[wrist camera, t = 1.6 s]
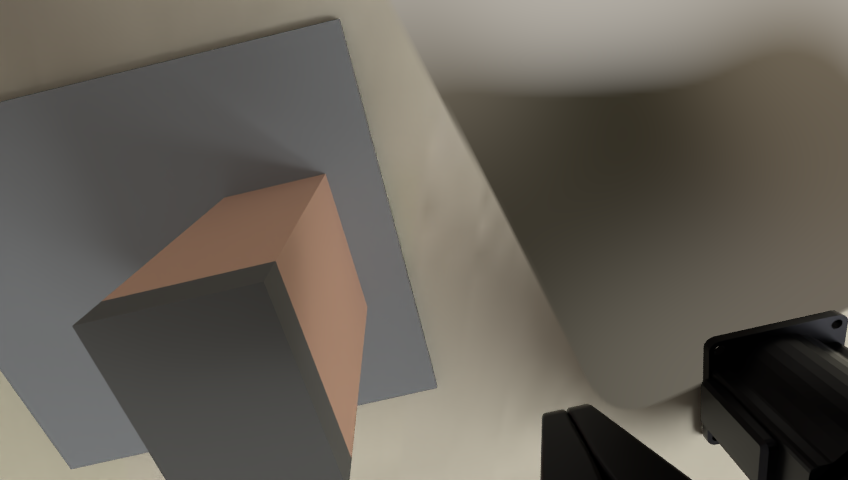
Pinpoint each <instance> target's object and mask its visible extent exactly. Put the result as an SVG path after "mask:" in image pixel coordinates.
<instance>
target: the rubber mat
mask: <svg viewBox="0 0 848 480" xmlns="http://www.w3.org/2000/svg"><path fill="white" fill-rule="evenodd" d="M322 174H326V176H327V180H328V183H329V186H330V189H331V192H332V196H333V199H334V202H335V205H336V208H337V212H338V215H339V218H340V221H341V224H342V228H343V231H344V234H345V237H346V240H347V243H348V247H349V250H350V253H351V256H352V259H353V263H354V266H355V269H356V272H357V275H358V279H359V282H360V285H361V288H362V291H363V295H364V298H365V301H366V304H367V316H366V326H365V335H364V345H363V354H362V364H361V374H360V383H359V393H358V402H357V406H358V405H362V404H367V403H371V402H376V401H380V400H385V399H389V398H394V397H398V396H403V395H407V394H412V393H416V392H421V391H425V390H430V389H434V388H437V383H436V379H435V375H434V371H433V368H432V364H431V360H430V356H429V353H428V349H427V345H426V341H425V338H424V334H423V330H422V326H421V323H420V319H419V315H418V311H417V307H416V304H415V300H414V296H413V292H412V289H411V285H410V281H409V277H408V274H407V270H406V266H405V262H404V259H403V255H402V251H401V247H400V244H399V240H398V236H397V232H396V229H395V225H394V221H393V217H392V213H391V210H390V206H389V202H388V198H387V195H386V191H385V187H384V183H383V180H382V176H381V172H380V168H379V165H378V161H377V157H376V153H375V150H374V146H373V142H372V138H371V135H370V131H369V127H368V123H367V119H366V116H365V112H364V108H363V104H362V101H361V97H360V93H359V89H358V86H357V82H356V78H355V74H354V71H353V67H352V63H351V59H350V56H349V52H348V48H347V44H346V41H345V37H344V33H343V29H342V25H341V22H340V19H336V20H332V21H328V22H324V23H320V24H316V25H312V26H307V27H303V28H299V29H295V30H291V31H287V32H283V33H279V34H275V35H271V36H267V37H263V38H259V39H255V40H250V41H246V42H242V43H238V44H234V45H230V46H226V47H222V48H218V49H214V50H210V51H206V52H202V53H198V54H194V55H189V56H185V57H181V58H177V59H173V60H169V61H165V62H161V63H157V64H153V65H149V66H145V67H141V68H137V69H133V70H128V71H124V72H120V73H116V74H112V75H108V76H104V77H100V78H96V79H92V80H88V81H84V82H80V83H76V84H72V85H67V86H63V87H59V88H55V89H51V90H47V91H43V92H39V93H35V94H31V95H27V96H23V97H19V98H15V99H10V100H6V101H2V102H0V370H1V372H2V373H3V374H4V376H5V377H6V379H7V380H8V381H9V383H10V384H11V386H12V387H13V389H14V390H15V391H16V393H17V394H18V396H19V397H20V398H21V400H22V401H23V403H24V404H25V405H26V407H27V408H28V410H29V411H30V412H31V414H32V415H33V417H34V418H35V419H36V421H37V422H38V424H39V425H40V426H41V428H42V429H43V431H44V432H45V434H46V435H47V436H48V438H49V439H50V441H51V442H52V443H53V445H54V446H55V448H56V449H57V450H58V452H59V453H60V455H61V456H62V457H63V459H64V460H65V462H66V463H67V464H68V466H69V467H70V469H75V468H79V467H84V466H88V465H93V464H97V463H102V462H106V461H111V460H115V459H120V458H124V457H129V456H133V455H138V454H142V453H146V452H149V451H148V450H147V448H146V447H145V445H144V443H143V442H142V440H141V438H140V437H139V435H138V433H137V432H136V430H135V429H134V427H133V425H132V424H131V422H130V420H129V419H128V417H127V415H126V414H125V412H124V411H123V409H122V407H121V406H120V404H119V402H118V401H117V399H116V397H115V396H114V394H113V392H112V391H111V389H110V388H109V386H108V384H107V383H106V381H105V379H104V378H103V376H102V374H101V373H100V371H99V370H98V368H97V366H96V365H95V363H94V361H93V360H92V358H91V356H90V355H89V353H88V352H87V350H86V348H85V347H84V345H83V343H82V342H81V340H80V338H79V337H78V335H77V333H76V332H75V330H74V329H73V327H72V326H73V325H74V324H75V323H76V322H77V321H79V320H80V319H81V318H82V317H83V316H84V315H86V314H87V313H88V312H89V311H90V310H92V309H93V308H94V307H95V306H96V305H98V304H99V303H100V302H101V301H102V300H103V299H105V298H106V297H107V296H108V295H109V294H111V293H112V292H113V291H114V290H115V289H116V288H118V287H119V286H120V285H121V284H122V283H124V282H125V281H126V280H127V279H128V278H130V277H131V276H132V275H133V274H134V273H135V272H137V271H138V270H139V269H140V268H141V267H143V266H144V265H145V264H146V263H147V262H149V261H150V260H151V259H152V258H153V257H154V256H156V255H157V254H158V253H159V252H160V251H162V250H163V249H164V248H165V247H166V246H167V245H169V244H170V243H171V242H172V241H173V240H175V239H176V238H177V237H178V236H179V235H181V234H182V233H183V232H184V231H185V230H186V229H188V228H189V227H190V226H191V225H192V224H194V223H195V222H196V221H197V220H198V219H200V218H201V217H202V216H203V215H204V214H205V213H207V212H208V211H209V210H210V209H211V208H213V207H214V206H215V205H216V204H217V203H219V202H220V201H221V200H222V199H223V198H225V197H229V196H233V195H237V194H242V193H246V192H250V191H254V190H259V189H263V188H267V187H271V186H275V185H280V184H284V183H288V182H292V181H297V180H301V179H305V178H309V177H313V176H318V175H322Z"/></svg>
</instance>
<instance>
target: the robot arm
mask: <svg viewBox="0 0 848 480" xmlns="http://www.w3.org/2000/svg"><path fill="white" fill-rule="evenodd" d="M847 324H848V319H847V317H846V316H845V315H843V314H841V313H839V312H837V311H827V312H823V313H818V314H814V315H809V316H805V317H800V318H795V319H791V320H786V321H782V322H777V323H773V324H768V325H764V326H759V327H755V328H751V329H746V330H741V331H737V332H732V333H728V334H724V335H719V336H714V337H712V338H710V339H708V340H707V341H706V343H705V344H704V357H703V358H704V359H703V361H704V362H703V382H702V384H701V422H702V423H703V436H704V437H705V439H706V440H707V441H708V442H709V443H710V444H713V445H715V444H720V445H721V446H722V447H723V448H724V450H725V451H726V452H727V453H728V454H729V455H730V457H731V458H732V459H733V460H734V461H735V463H736V464H737V465H738V466H739V467H740V469H741V470H742V471H743V472H744V473H745V475H746V476H747V477H748V478H749V479H750V480H848V348H847V347H845V346H844V344H845V337H846V330H847ZM718 346H719V347H718ZM716 347H718V348H716ZM715 348H716V349H715ZM541 480H692V479H690V478H689V477H688V476H686V475H685V474H684V473H682V472H681V471H680V470H678V469H677V468H675V467H674V466H673V465H671V464H670V463H669V462H667V461H666V460H665V459H663V458H662V457H661V456H659V455H658V454H657V453H655V452H654V451H653V450H651V449H650V448H648V447H647V446H646V445H644V444H643V443H642V442H640V441H639V440H638V439H636V438H635V437H634V436H632V435H631V434H630V433H628V432H627V431H626V430H624V429H623V428H621V427H620V426H619V425H617V424H616V423H615V422H613V421H612V420H611V419H609V418H608V417H607V416H605V415H604V414H603V413H601V412H600V411H599V410H597V409H596V408H594V407H593V406H592V405H589V404H584V405H580V406H575V407H571V408H568V409H567V411H565V410H557V411H552V412H548V413H544V414H543V416H542V442H541Z"/></svg>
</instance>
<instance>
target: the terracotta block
mask: <svg viewBox="0 0 848 480" xmlns="http://www.w3.org/2000/svg"><path fill="white" fill-rule="evenodd" d="M366 316H367V304H366V301H365V298H364V295H363V291H362V288H361V285H360V282H359V279H358V275H357V272H356V269H355V266H354V263H353V259H352V256H351V253H350V250H349V247H348V243H347V240H346V237H345V234H344V231H343V228H342V224H341V221H340V218H339V215H338V212H337V208H336V205H335V202H334V199H333V196H332V192H331V189H330V186H329V183H328V180H327V176H326V174H322V175H318V176H313V177H309V178H305V179H301V180H297V181H292V182H288V183H284V184H280V185H275V186H271V187H267V188H263V189H259V190H254V191H250V192H246V193H242V194H237V195H233V196H229V197H225V198H223V199H222V200H221V201H220V202H219V203H217V204H216V205H215V206H214V207H213V208H211V209H210V210H209V211H208V212H207V213H205V214H204V215H203V216H202V217H201V218H200V219H198V220H197V221H196V222H195V223H194V224H192V225H191V226H190V227H189V228H188V229H186V230H185V231H184V232H183V233H182V234H181V235H179V236H178V237H177V238H176V239H175V240H173V241H172V242H171V243H170V244H169V245H167V246H166V247H165V248H164V249H163V250H162V251H160V252H159V253H158V254H157V255H156V256H154V257H153V258H152V259H151V260H150V261H149V262H147V263H146V264H145V265H144V266H143V267H141V268H140V269H139V270H138V271H137V272H135V273H134V274H133V275H132V276H131V277H130V278H128V279H127V280H126V281H125V282H124V283H122V284H121V285H120V286H119V287H118V288H116V289H115V290H114V291H113V292H112V293H111V294H109V295H108V296H107V297H106V298H105V299H103V300H102V301H101V302H100V303H99V304H98V305H96V306H95V307H94V308H93V309H92V310H90V311H89V312H88V313H87V314H86V315H84V316H83V317H82V318H81V319H80V320H79V321H77V322H76V323H75V324H74V325H73V326H72V327H73V329H74V330H75V332H76V333H77V335H78V337H79V338H80V340H81V342H82V343H83V345H84V347H85V348H86V350H87V352H88V353H89V355H90V356H91V358H92V360H93V361H94V363H95V365H96V366H97V368H98V370H99V371H100V373H101V374H102V376H103V378H104V379H105V381H106V383H107V384H108V386H109V388H110V389H111V391H112V392H113V394H114V396H115V397H116V399H117V401H118V402H119V404H120V406H121V407H122V409H123V411H124V412H125V414H126V415H127V417H128V419H129V420H130V422H131V424H132V425H133V427H134V429H135V430H136V432H137V433H138V435H139V437H140V438H141V440H142V442H143V443H144V445H145V447H146V448H147V450H148V451H149V453H150V455H151V456H152V458H153V460H154V461H155V463H156V465H157V466H158V468H159V470H160V471H161V473H162V474H163V476H164V478H165V479H166V480H349V479H350V469H351V460H352V450H353V440H354V431H355V421H356V412H357V402H358V393H359V383H360V374H361V364H362V354H363V345H364V335H365V326H366Z"/></svg>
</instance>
